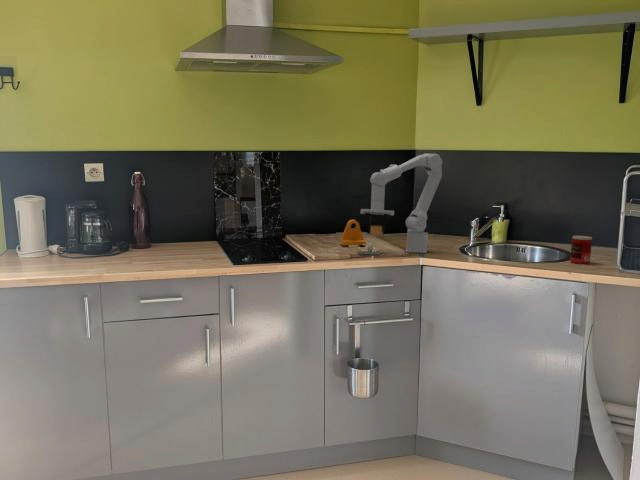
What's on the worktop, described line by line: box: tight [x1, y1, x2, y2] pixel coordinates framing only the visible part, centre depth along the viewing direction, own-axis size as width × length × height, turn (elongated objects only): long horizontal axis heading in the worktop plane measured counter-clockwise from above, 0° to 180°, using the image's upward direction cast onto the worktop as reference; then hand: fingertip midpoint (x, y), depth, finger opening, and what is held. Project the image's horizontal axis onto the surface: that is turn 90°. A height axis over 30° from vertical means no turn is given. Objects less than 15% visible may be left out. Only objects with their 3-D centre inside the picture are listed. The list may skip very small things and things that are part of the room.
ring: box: [369, 225, 384, 236], centre depth 270 cm, size 5×5×4 cm
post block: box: [357, 241, 382, 257], centre depth 267 cm, size 9×9×5 cm
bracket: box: [340, 219, 366, 246], centre depth 287 cm, size 11×7×12 cm, turn 95°
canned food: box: [569, 235, 593, 265], centre depth 257 cm, size 8×8×11 cm
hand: (376, 230), depth 270 cm, fingers closed on ring, 5 cm apart
